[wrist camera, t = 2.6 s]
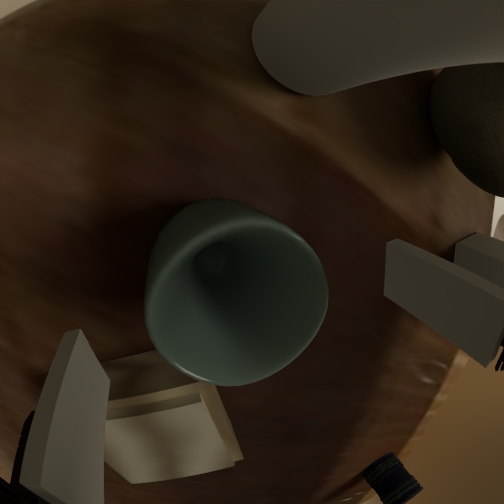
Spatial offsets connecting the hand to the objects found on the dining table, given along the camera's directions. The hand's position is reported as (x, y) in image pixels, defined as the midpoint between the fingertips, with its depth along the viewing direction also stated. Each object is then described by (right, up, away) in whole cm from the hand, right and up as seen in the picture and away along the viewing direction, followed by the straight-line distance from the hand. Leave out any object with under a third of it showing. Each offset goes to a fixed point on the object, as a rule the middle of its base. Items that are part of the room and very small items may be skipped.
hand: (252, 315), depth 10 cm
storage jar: (+32, -51, +39) cm, 72 cm away
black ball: (+21, +17, +13) cm, 30 cm away
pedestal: (-9, -12, +12) cm, 20 cm away
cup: (-3, +3, +10) cm, 11 cm away
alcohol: (+4, +18, +7) cm, 20 cm away
